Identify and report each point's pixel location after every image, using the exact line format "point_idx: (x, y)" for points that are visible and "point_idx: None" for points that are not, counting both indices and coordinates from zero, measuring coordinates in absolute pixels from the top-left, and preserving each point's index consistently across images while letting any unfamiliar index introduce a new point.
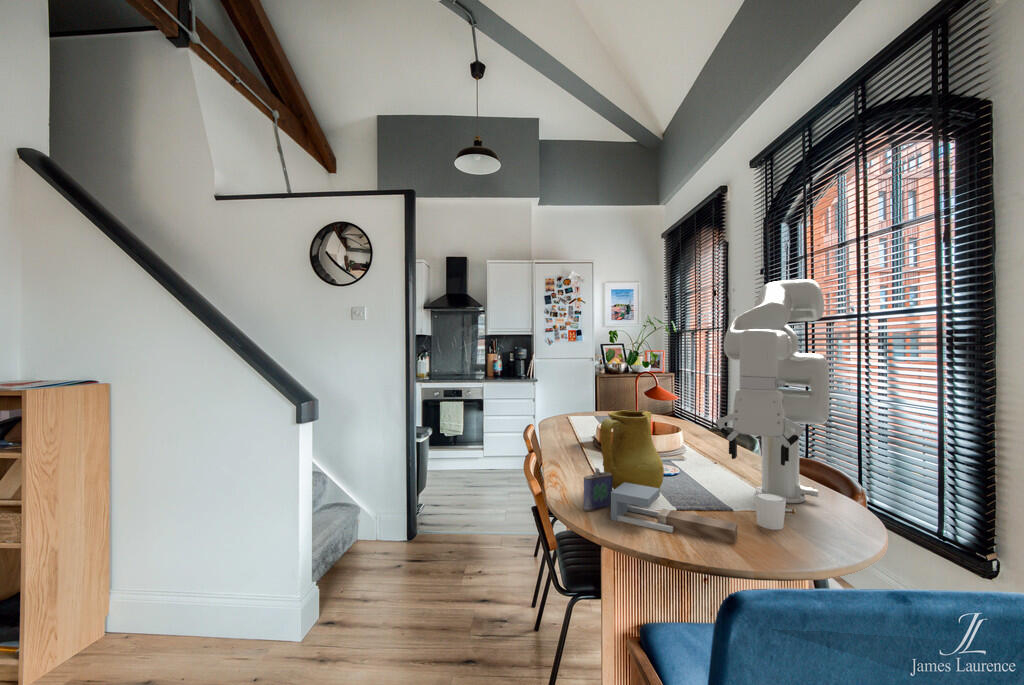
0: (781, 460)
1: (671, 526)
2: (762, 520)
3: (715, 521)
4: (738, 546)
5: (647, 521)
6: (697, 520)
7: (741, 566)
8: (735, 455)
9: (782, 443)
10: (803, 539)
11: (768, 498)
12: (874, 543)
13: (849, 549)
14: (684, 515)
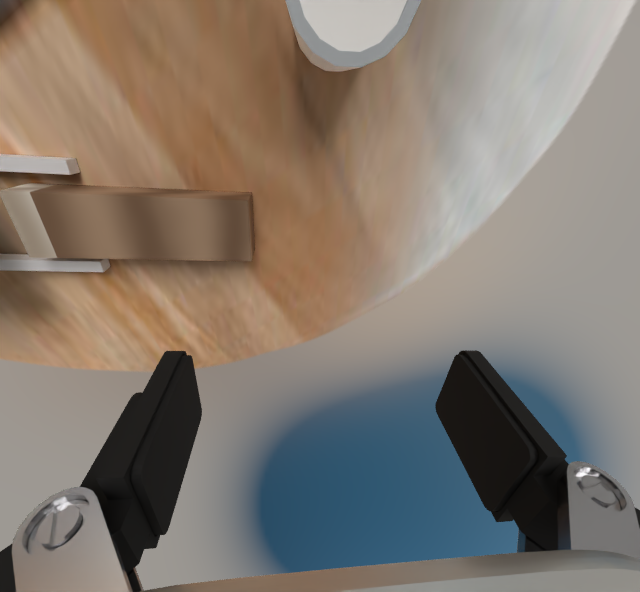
0: (448, 428)
1: (96, 265)
2: (312, 61)
3: (190, 221)
4: (265, 260)
5: (25, 265)
6: (145, 242)
7: (282, 339)
8: (195, 418)
9: (520, 550)
10: (416, 117)
11: (345, 10)
12: (614, 26)
13: (513, 131)
14: (94, 220)
